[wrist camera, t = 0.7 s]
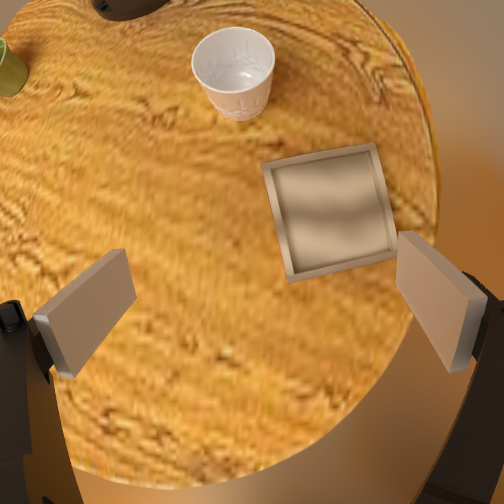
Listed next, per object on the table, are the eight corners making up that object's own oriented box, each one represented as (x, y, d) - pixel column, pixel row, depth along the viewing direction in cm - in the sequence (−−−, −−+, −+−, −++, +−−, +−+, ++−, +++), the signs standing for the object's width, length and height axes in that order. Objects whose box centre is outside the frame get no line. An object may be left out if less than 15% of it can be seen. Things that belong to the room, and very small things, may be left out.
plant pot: (32, 96, 37) (-2, 78, 29) (-5, 113, 38) (-38, 101, 29) (40, 49, 37) (11, 28, 28) (3, 68, 37) (-26, 52, 28)
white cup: (212, 69, 36) (197, 27, 26) (275, 71, 36) (277, 28, 26) (204, 125, 37) (185, 92, 27) (270, 128, 36) (272, 95, 26)
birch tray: (261, 167, 37) (261, 163, 34) (368, 147, 36) (374, 142, 33) (287, 279, 37) (288, 283, 35) (392, 254, 37) (400, 256, 34)
